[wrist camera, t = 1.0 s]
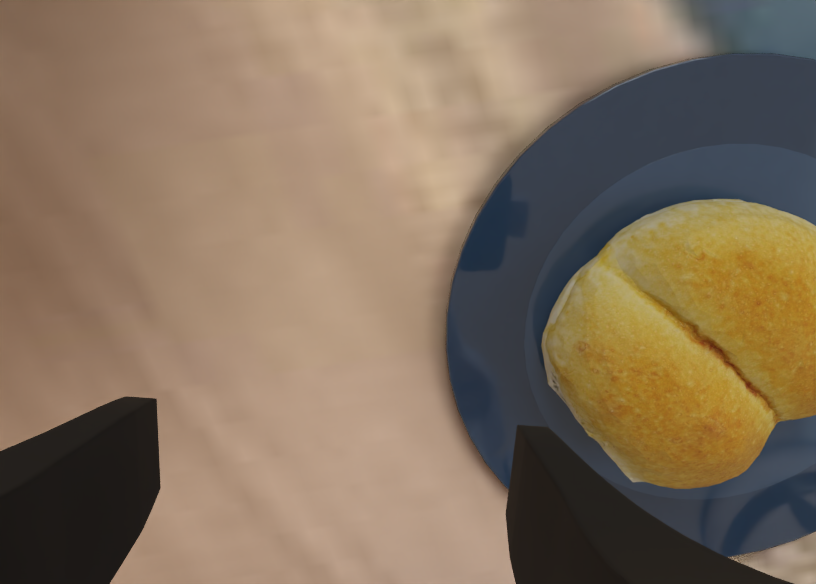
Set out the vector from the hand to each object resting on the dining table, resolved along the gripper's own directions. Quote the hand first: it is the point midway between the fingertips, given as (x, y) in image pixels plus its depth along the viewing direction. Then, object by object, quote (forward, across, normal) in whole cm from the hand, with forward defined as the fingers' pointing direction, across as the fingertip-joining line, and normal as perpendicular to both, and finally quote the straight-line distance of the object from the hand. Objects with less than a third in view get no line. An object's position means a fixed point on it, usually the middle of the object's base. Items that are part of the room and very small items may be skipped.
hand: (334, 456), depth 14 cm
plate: (+9, -11, 0) cm, 14 cm away
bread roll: (+9, -10, 0) cm, 14 cm away
